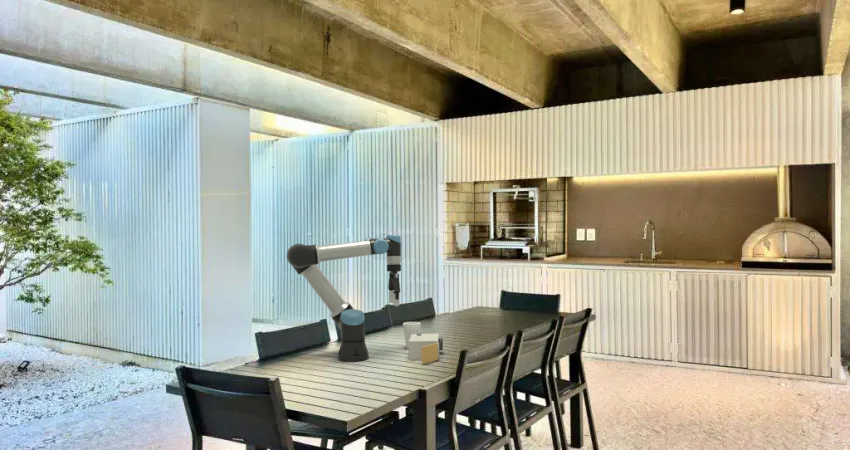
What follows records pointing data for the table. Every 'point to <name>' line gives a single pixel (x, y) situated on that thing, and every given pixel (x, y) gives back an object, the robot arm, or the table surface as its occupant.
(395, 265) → the robot arm
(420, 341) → the housing
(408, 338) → the foam cup
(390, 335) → the table surface
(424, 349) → the door
